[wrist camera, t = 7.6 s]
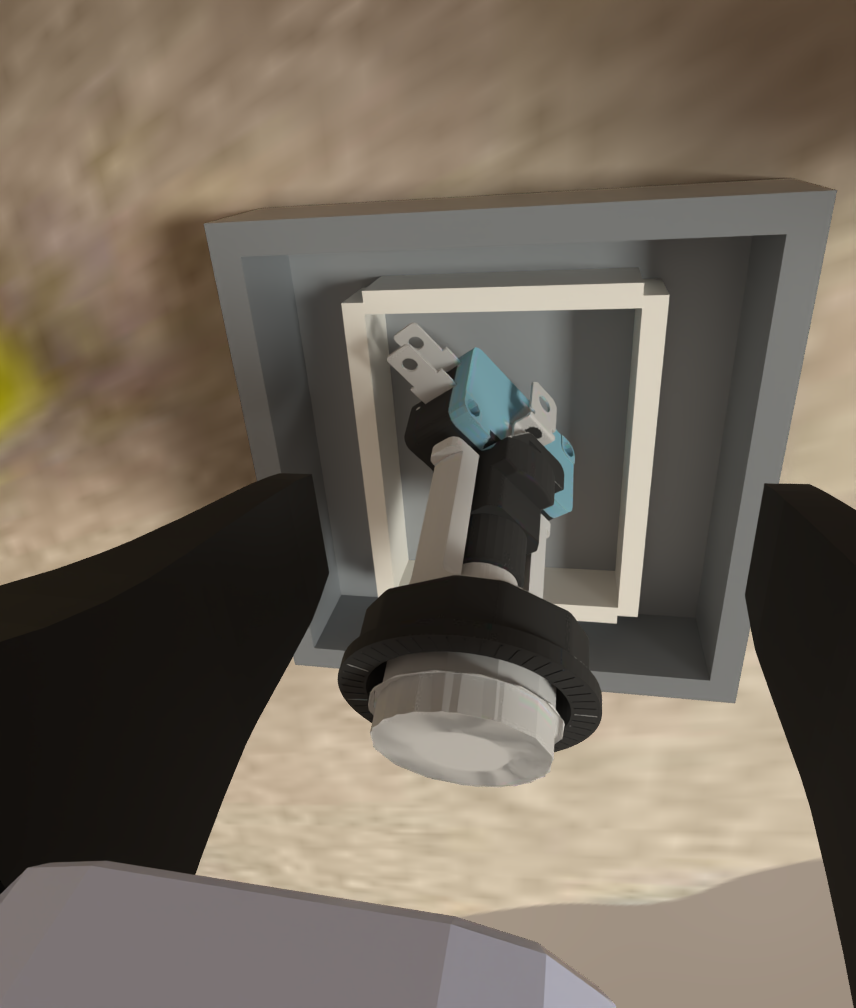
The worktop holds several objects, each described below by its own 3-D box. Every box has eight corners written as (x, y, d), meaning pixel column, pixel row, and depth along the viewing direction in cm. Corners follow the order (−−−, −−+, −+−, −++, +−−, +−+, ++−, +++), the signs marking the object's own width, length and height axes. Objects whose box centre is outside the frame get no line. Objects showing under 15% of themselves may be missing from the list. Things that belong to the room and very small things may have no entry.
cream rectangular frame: (662, 266, 18) (670, 281, 16) (632, 586, 23) (636, 624, 21) (361, 276, 19) (339, 291, 18) (393, 573, 24) (379, 607, 23)
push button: (341, 363, 19) (215, 691, 13) (489, 256, 16) (420, 617, 10) (489, 497, 23) (447, 812, 16) (635, 429, 19) (656, 786, 13)
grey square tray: (791, 178, 17) (836, 190, 14) (715, 628, 23) (734, 702, 20) (261, 208, 20) (203, 223, 17) (328, 602, 26) (295, 664, 23)
